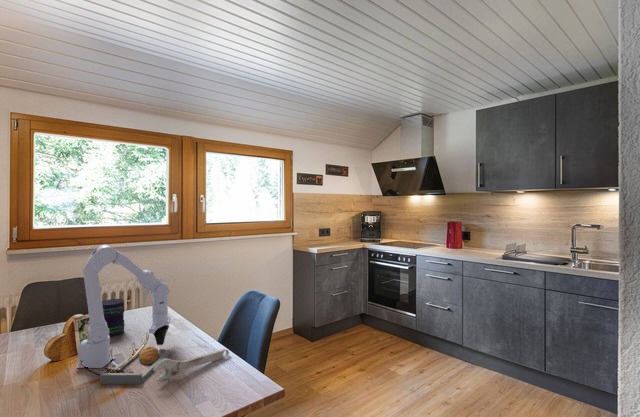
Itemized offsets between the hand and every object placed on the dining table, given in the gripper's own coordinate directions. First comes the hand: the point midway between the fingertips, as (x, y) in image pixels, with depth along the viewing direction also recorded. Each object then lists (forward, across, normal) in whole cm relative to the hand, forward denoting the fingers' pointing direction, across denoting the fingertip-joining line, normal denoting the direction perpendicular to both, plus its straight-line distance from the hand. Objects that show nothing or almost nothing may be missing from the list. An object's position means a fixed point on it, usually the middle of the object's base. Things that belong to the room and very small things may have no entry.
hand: (160, 344), depth 138 cm
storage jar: (+2, +16, +30) cm, 34 cm away
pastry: (+2, -10, 0) cm, 10 cm away
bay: (+2, -17, 0) cm, 17 cm away
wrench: (+2, -18, -21) cm, 28 cm away
